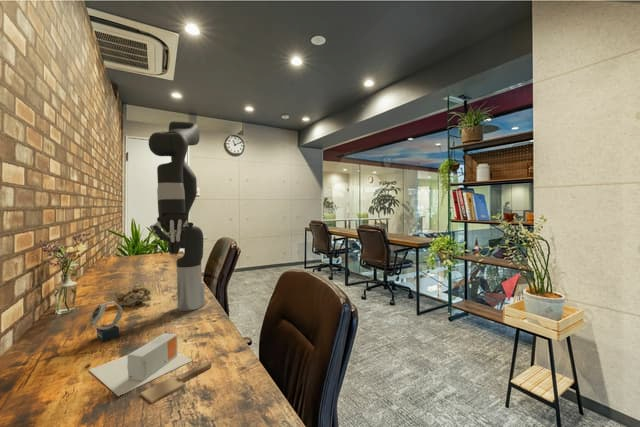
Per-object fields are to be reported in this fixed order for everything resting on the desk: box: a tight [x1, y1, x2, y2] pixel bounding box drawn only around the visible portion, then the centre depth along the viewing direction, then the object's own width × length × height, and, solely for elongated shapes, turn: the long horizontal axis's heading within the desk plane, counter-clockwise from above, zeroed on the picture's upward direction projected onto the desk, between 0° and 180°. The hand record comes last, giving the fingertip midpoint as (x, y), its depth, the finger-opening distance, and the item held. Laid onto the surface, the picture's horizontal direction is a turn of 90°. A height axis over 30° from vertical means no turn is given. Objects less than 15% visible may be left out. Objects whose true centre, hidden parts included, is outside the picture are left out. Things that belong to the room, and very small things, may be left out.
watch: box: [90, 301, 124, 343], centre depth 90 cm, size 6×8×11 cm
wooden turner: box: [140, 360, 212, 404], centre depth 67 cm, size 15×5×1 cm, turn 145°
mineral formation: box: [112, 283, 152, 307], centre depth 122 cm, size 8×13×15 cm
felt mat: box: [88, 351, 193, 397], centre depth 74 cm, size 17×18×1 cm
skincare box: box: [127, 333, 178, 381], centre depth 73 cm, size 6×4×12 cm
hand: (173, 253), depth 89 cm, fingers closed
